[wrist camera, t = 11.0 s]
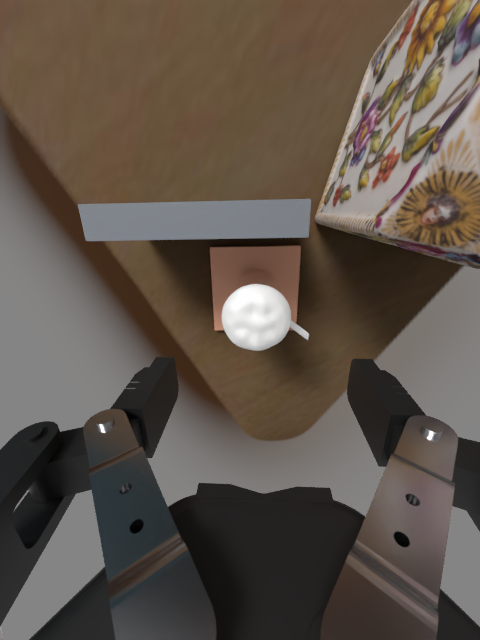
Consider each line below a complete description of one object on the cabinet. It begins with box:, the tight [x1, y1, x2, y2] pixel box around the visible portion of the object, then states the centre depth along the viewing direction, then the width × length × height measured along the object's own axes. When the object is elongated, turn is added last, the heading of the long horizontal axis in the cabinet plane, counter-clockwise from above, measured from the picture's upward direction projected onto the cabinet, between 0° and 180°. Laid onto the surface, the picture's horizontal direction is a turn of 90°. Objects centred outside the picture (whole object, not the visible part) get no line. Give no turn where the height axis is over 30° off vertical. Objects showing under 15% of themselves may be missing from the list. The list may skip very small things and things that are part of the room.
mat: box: [210, 245, 301, 330], centre depth 26 cm, size 8×8×1 cm
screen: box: [78, 199, 311, 241], centre depth 20 cm, size 13×2×9 cm, turn 91°
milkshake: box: [222, 270, 309, 351], centre depth 21 cm, size 5×5×10 cm
